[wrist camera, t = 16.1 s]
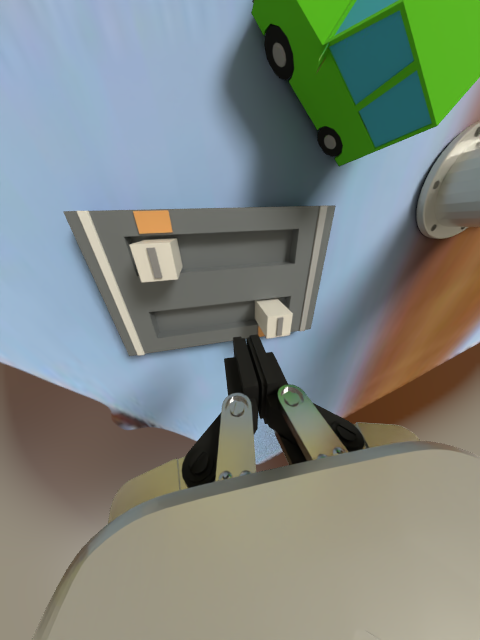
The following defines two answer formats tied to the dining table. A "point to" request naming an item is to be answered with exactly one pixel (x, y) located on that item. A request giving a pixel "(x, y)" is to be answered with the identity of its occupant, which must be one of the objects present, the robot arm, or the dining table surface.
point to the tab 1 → (157, 259)
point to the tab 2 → (273, 317)
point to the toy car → (372, 65)
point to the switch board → (205, 270)
